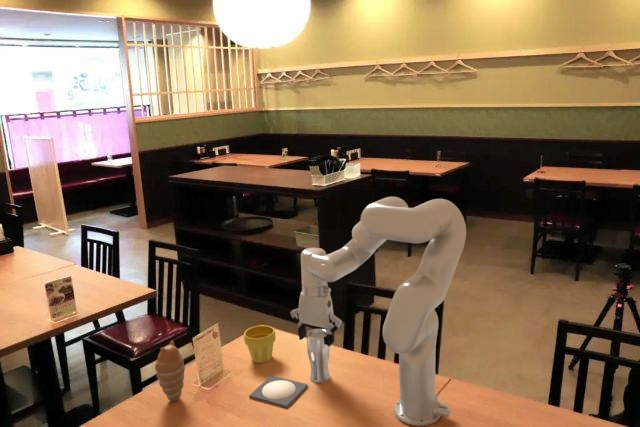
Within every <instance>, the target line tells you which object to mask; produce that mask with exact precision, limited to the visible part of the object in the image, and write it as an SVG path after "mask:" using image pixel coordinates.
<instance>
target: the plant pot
mask: <svg viewBox="0 0 640 427" xmlns="http://www.w3.org/2000/svg"><path fill="white" fill-rule="evenodd" d="M243 338H244V344H245V345H246V346H247V349H248V351H249V354H250V357H251V360H252V361H253V363H257V364H264V363H267V362H269V361H270V360H272V357H273V351H274V349H273V348H274V342H275V341H276V329H275V328H274V327H272V326H270V325H263V324H262V325H255V326H251V327H249V328H247V329H246V330H245V331H244V333H243Z"/></svg>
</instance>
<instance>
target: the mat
mask: <svg viewBox="0 0 640 427" xmlns="http://www.w3.org/2000/svg"><path fill="white" fill-rule="evenodd" d="M308 387H309V384H307V383H303V382H300V381H295V380H293V379H288V378H284V377H279V376H276V375H270V376H269V377H268V378H267V379H266V380H265V381H263V382H262V383H261V384H260V385H259V386H258V387H257V388H256V389H254V390H253V392H251V393H250V394H249V396H248V397H249V399H253V400H256V401H257V400H258V401H260V402H262V403H267V404H269V405H270V404H271V405H275V406H278V407H282V408H285V409H288V408H289V407H290V406H291V404H293V403H294V402H295V401H296V400H297V399H298V397H300V395H301V394H302V393H303V392H304V391H306V390H307V388H308Z"/></svg>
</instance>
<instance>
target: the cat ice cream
mask: <svg viewBox="0 0 640 427" xmlns="http://www.w3.org/2000/svg"><path fill="white" fill-rule="evenodd" d="M159 350H160V351H159V353H158V354H157V359H156V360H155V365H154V368H155V371H156V378H157V379H158V382H159V386H160V388H161V389H162V392H163V393H164V394H165V396H166V398H167V400H169V401H170V402H177V401H178V400H179V399H180V398H181V396H182V389H183V388H184V380H185V370H186V367H185V364H184V362H185V360H184V358H183V355H182V354H181V353H180V351H179V348H177V347H176V345H175V342H174V340H171V341H170V342H169V343H168V344H167V345H165V346H163V347H160V348H159Z"/></svg>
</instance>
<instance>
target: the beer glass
mask: <svg viewBox="0 0 640 427" xmlns="http://www.w3.org/2000/svg"><path fill="white" fill-rule="evenodd" d="M327 334H328V332H327V331H326V329H325V328H314V329H311V330H308V332H306V352H307V356H308V359H309V366H310V378H309V379H310V380H311V382H314V383H317V384H321V383H325V382H328V381H329V380H330V377H331V376H330V372H329V371H330V370H329V359H330V350H331V348H330V347H331V345H330V346H327Z"/></svg>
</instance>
